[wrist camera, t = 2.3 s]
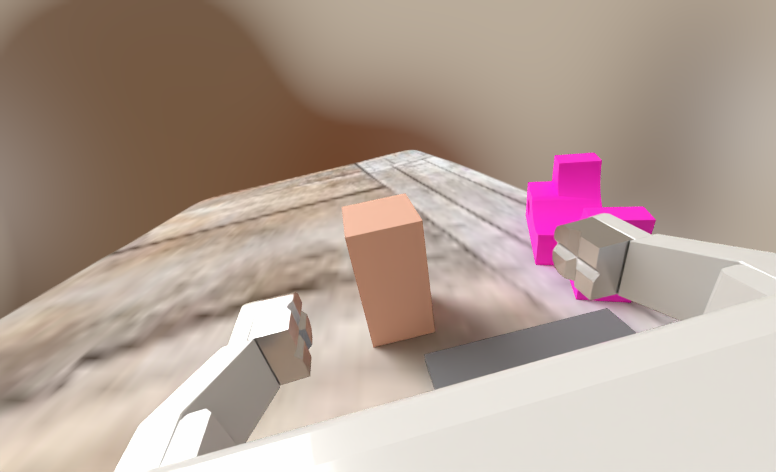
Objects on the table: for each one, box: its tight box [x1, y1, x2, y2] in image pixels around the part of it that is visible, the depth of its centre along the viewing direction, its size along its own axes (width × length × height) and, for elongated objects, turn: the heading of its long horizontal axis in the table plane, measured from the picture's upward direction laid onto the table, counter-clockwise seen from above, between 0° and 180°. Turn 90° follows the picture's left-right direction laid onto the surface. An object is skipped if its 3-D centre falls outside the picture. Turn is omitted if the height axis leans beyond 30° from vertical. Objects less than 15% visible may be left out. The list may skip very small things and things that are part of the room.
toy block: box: [526, 153, 656, 303], centre depth 30 cm, size 15×6×8 cm, turn 164°
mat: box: [424, 308, 636, 390], centre depth 17 cm, size 14×14×1 cm
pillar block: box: [342, 194, 435, 347], centre depth 24 cm, size 5×5×10 cm
